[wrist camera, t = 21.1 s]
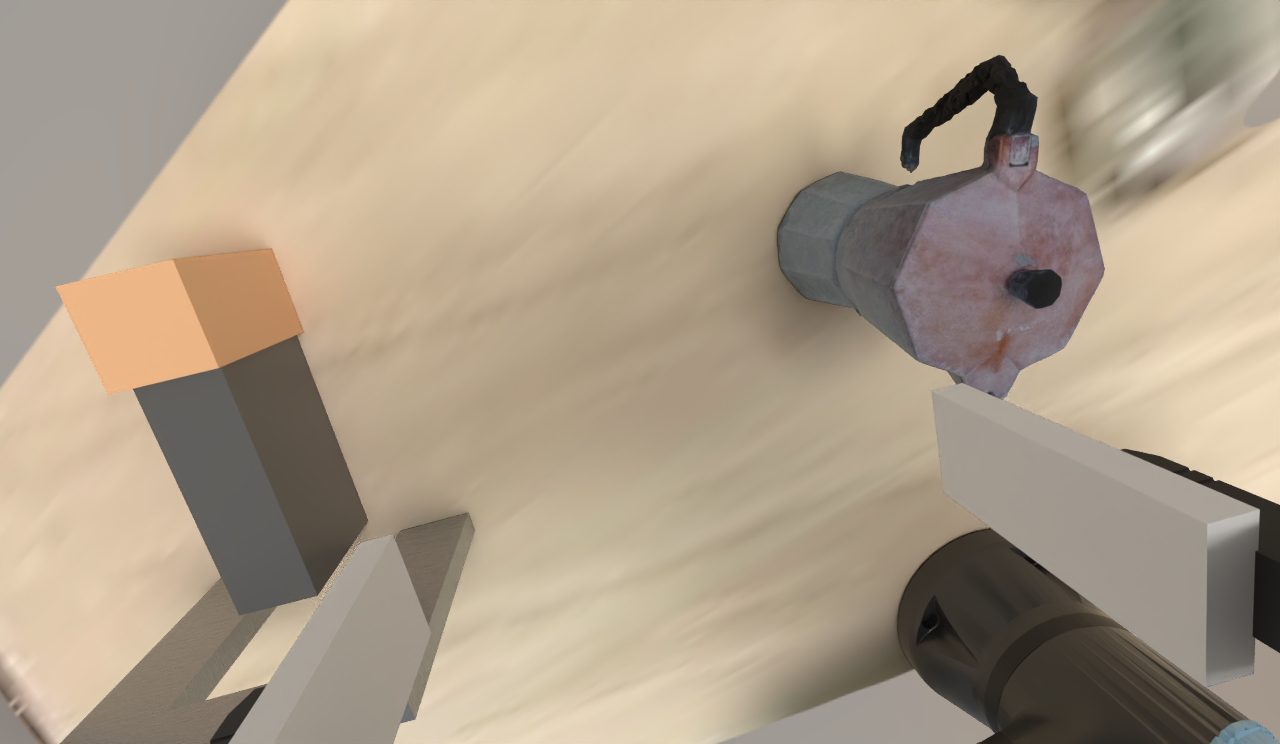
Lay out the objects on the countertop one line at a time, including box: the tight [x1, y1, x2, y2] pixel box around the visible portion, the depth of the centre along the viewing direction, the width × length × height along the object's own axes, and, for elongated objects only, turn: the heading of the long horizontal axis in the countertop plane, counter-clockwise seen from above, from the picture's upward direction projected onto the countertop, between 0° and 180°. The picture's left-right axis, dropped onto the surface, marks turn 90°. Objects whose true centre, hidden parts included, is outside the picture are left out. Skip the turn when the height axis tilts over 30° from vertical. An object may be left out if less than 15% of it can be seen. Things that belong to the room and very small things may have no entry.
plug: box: [56, 249, 368, 616], centre depth 36 cm, size 20×6×10 cm, turn 13°
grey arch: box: [60, 513, 474, 744], centre depth 36 cm, size 2×18×18 cm, turn 103°
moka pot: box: [778, 55, 1105, 400], centre depth 33 cm, size 10×15×20 cm, turn 8°
